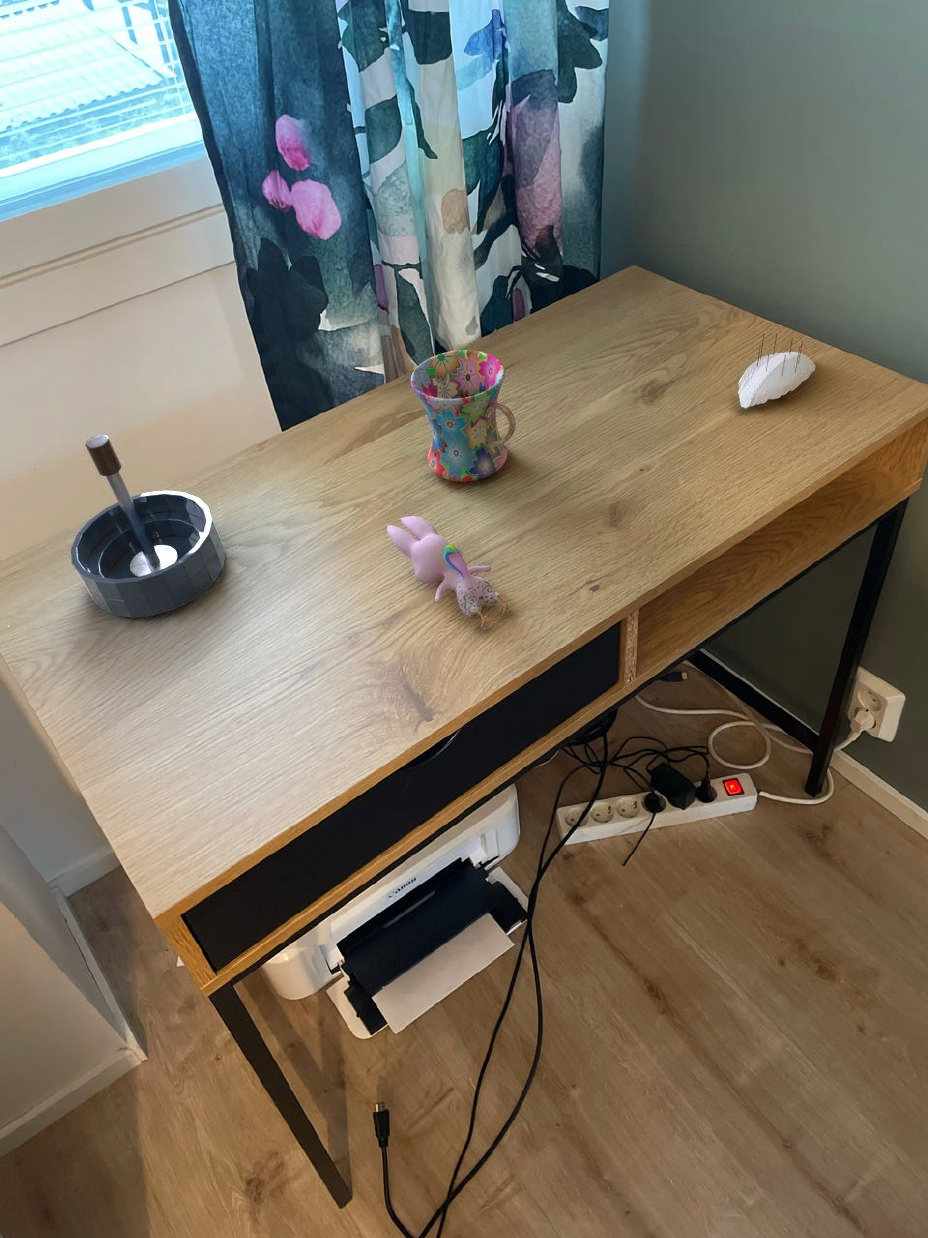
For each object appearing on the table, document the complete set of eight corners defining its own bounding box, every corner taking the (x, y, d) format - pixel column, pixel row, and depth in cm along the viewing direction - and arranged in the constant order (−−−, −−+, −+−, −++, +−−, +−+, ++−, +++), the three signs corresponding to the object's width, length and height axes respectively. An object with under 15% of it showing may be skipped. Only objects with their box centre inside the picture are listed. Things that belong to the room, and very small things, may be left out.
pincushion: (782, 354, 103) (790, 308, 99) (830, 371, 100) (840, 324, 96) (719, 400, 98) (724, 353, 94) (767, 419, 95) (775, 372, 91)
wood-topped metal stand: (156, 591, 85) (93, 462, 74) (124, 576, 87) (58, 448, 76) (191, 562, 87) (134, 433, 77) (159, 548, 89) (100, 420, 79)
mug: (407, 467, 96) (391, 379, 88) (468, 427, 100) (458, 340, 92) (486, 512, 89) (476, 421, 81) (549, 467, 93) (545, 376, 85)
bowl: (156, 640, 81) (135, 601, 78) (64, 593, 87) (41, 555, 84) (254, 553, 88) (240, 514, 85) (163, 515, 94) (146, 476, 91)
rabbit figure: (522, 614, 81) (421, 519, 88) (526, 571, 76) (419, 474, 83) (469, 650, 78) (369, 549, 85) (469, 608, 73) (363, 505, 80)
